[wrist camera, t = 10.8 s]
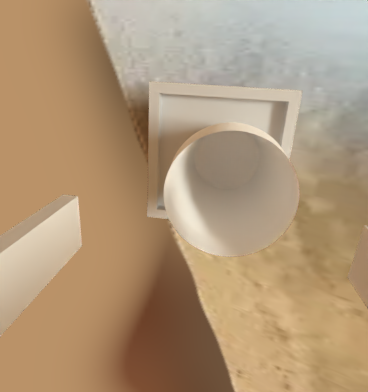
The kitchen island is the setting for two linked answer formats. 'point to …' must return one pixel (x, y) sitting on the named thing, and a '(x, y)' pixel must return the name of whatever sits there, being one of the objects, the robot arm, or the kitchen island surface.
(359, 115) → the kitchen island surface
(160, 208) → the stand
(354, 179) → the kitchen island surface
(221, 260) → the kitchen island surface
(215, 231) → the cup
